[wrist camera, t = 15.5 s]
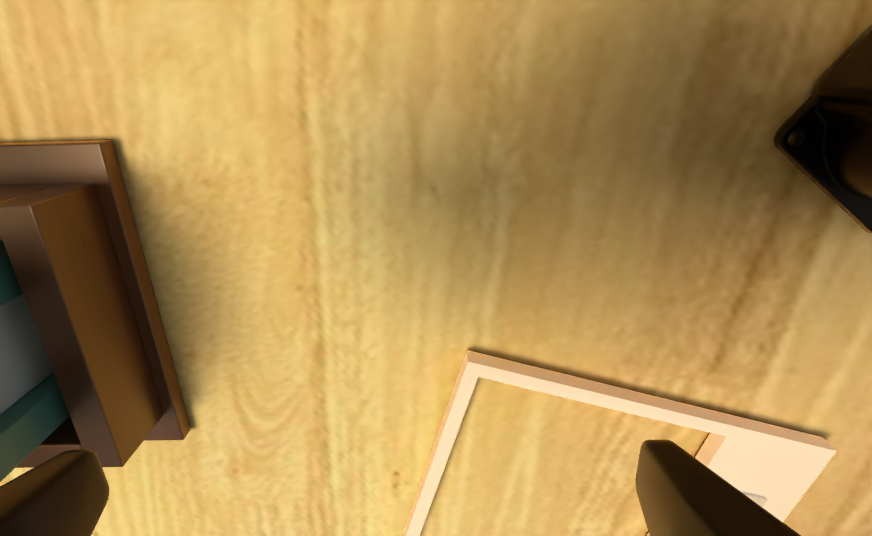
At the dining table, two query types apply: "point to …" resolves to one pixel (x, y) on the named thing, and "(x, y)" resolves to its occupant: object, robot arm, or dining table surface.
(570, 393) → the photo frame
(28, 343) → the picture frame
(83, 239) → the frame holder
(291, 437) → the dining table surface
